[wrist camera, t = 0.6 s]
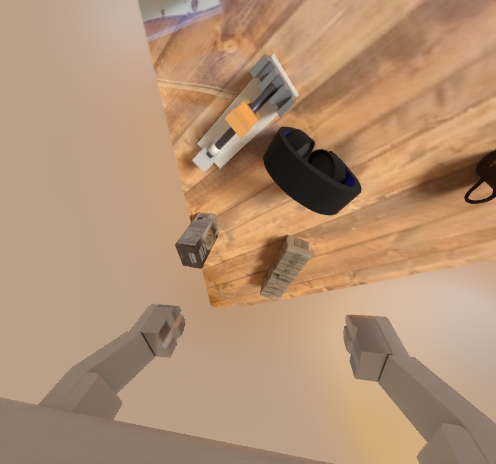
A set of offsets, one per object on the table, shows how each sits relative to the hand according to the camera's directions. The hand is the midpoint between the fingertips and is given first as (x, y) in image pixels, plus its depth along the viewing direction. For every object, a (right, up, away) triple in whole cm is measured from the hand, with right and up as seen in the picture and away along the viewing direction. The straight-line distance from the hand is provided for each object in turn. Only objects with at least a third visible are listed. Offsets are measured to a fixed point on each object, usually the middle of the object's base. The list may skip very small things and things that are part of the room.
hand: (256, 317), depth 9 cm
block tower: (+13, -7, +62) cm, 64 cm away
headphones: (+14, +23, +35) cm, 44 cm away
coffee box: (-14, +7, +57) cm, 59 cm away
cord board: (-2, +29, +34) cm, 45 cm away
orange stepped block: (-1, +27, +29) cm, 40 cm away
